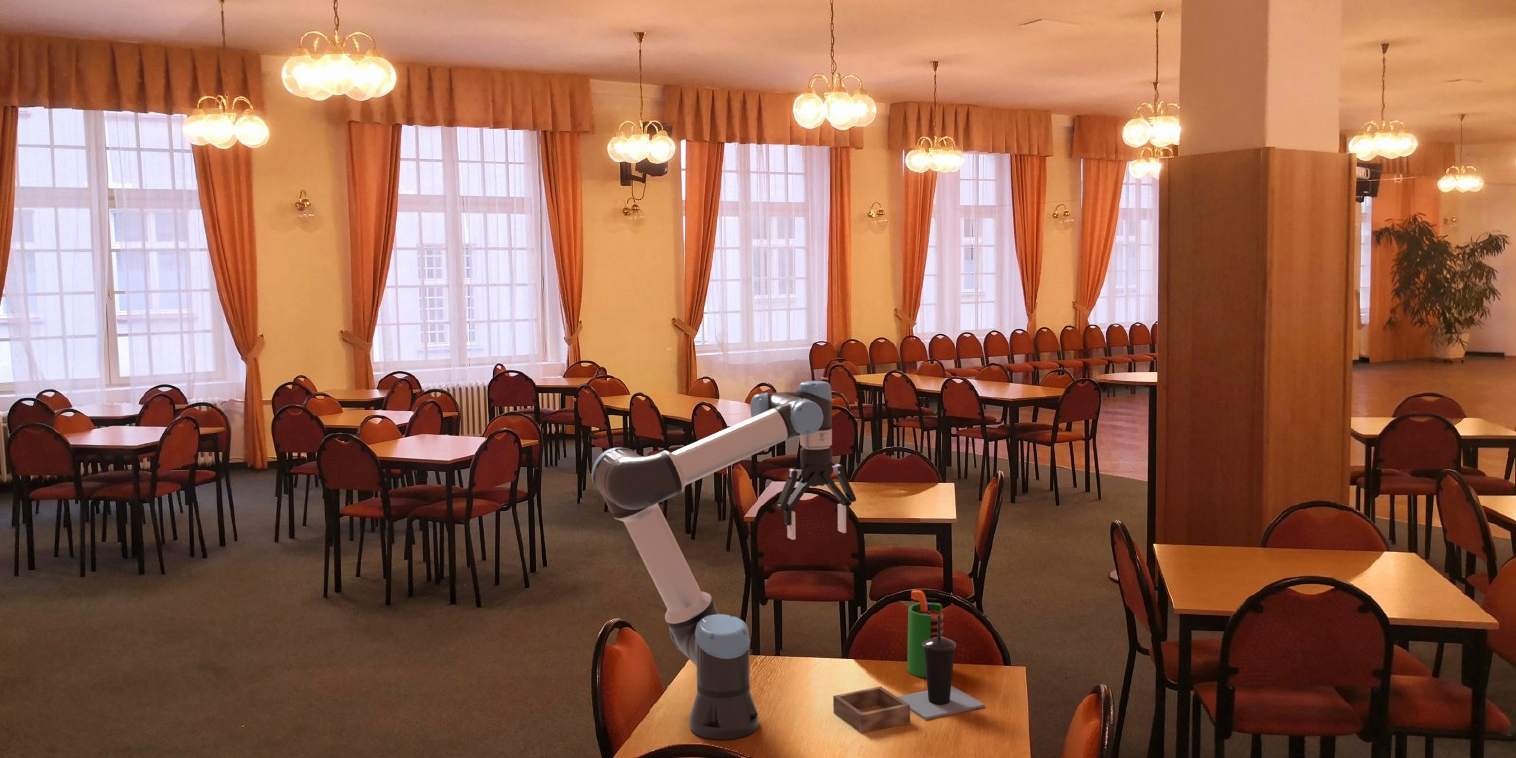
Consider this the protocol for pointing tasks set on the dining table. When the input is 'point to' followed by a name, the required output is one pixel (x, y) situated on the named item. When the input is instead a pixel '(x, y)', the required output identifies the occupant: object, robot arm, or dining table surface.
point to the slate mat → (929, 710)
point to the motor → (921, 630)
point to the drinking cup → (939, 667)
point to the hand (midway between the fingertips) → (817, 535)
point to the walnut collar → (874, 720)
